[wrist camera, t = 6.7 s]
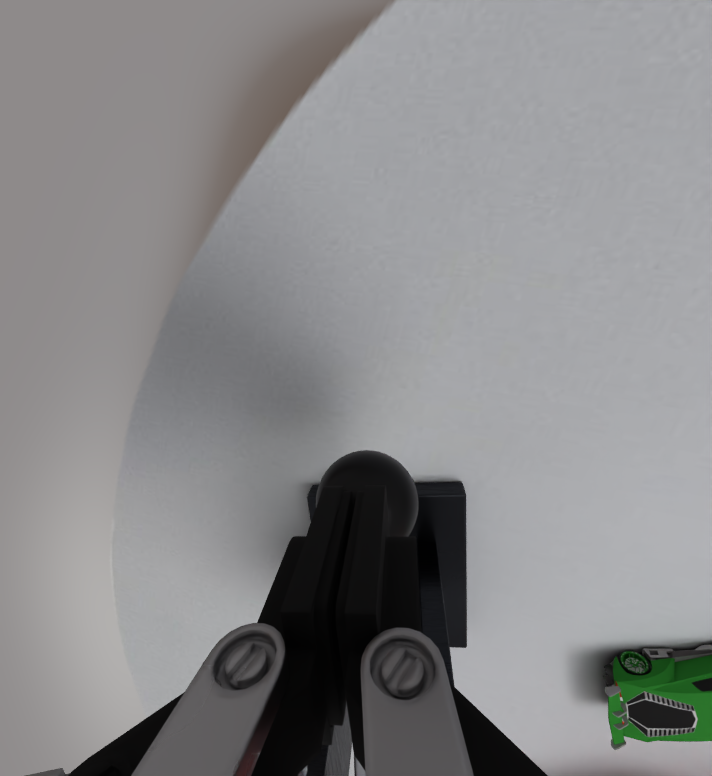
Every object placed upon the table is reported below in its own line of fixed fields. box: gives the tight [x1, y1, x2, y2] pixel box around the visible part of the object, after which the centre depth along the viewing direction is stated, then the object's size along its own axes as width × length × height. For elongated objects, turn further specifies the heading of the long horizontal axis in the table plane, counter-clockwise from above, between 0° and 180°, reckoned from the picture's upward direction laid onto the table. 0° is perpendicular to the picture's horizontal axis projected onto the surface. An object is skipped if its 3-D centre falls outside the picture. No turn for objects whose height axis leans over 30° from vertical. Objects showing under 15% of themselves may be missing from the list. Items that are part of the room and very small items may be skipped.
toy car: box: [603, 645, 712, 750], centre depth 21 cm, size 10×5×2 cm, turn 105°
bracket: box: [306, 482, 467, 776], centre depth 15 cm, size 10×8×14 cm
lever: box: [316, 450, 418, 776], centre depth 11 cm, size 13×3×3 cm, turn 5°
